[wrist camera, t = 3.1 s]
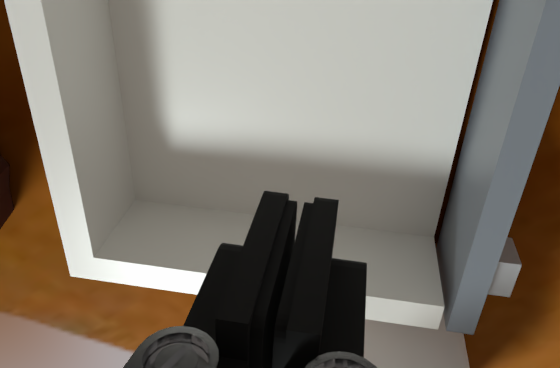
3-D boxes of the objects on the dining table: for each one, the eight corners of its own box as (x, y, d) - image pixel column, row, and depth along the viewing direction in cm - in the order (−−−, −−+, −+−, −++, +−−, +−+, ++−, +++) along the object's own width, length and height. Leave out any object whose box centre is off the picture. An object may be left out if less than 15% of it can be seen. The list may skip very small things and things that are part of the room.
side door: (572, -301, 13) (652, -369, 9) (667, -300, 13) (788, -370, 9) (432, 253, 23) (443, 330, 19) (484, 260, 23) (506, 339, 19)
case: (46, -275, 16) (-75, -326, 12) (552, -268, 14) (627, -325, 10) (121, 208, 25) (70, 276, 21) (427, 247, 24) (438, 329, 19)
